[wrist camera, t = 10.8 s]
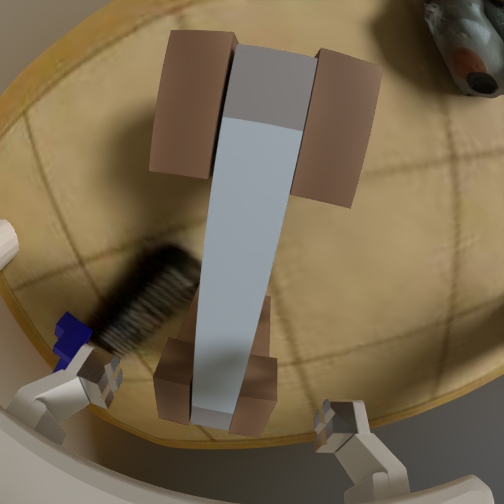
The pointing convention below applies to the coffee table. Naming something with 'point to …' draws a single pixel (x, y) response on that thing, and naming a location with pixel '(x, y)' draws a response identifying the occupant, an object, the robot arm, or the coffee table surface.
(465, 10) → the lucky cat figurine
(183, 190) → the coffee table surface
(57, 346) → the cable clip
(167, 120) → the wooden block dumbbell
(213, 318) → the bed rail
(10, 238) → the shot glass
